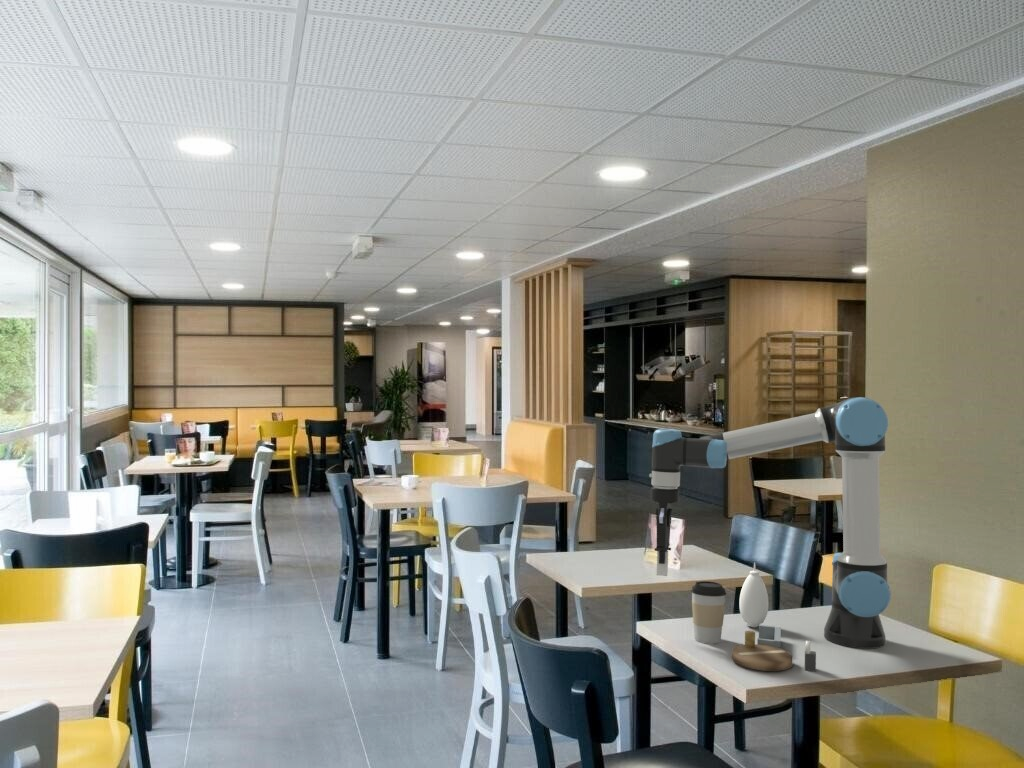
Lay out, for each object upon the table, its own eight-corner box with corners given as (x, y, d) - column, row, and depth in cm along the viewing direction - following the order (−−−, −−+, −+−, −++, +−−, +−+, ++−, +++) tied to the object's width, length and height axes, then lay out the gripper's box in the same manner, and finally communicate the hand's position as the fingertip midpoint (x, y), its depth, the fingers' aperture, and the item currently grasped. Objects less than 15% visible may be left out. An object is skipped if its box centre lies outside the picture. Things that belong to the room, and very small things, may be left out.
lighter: (815, 667, 200) (815, 640, 200) (815, 672, 197) (816, 644, 197) (804, 666, 200) (805, 639, 200) (804, 670, 197) (805, 642, 197)
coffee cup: (722, 635, 224) (723, 579, 225) (727, 645, 215) (729, 587, 216) (688, 633, 225) (689, 578, 225) (692, 643, 216) (693, 585, 216)
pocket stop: (780, 640, 222) (780, 626, 222) (780, 656, 208) (780, 642, 208) (758, 637, 223) (759, 624, 223) (757, 653, 210) (757, 639, 210)
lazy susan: (771, 650, 210) (771, 629, 210) (804, 668, 197) (804, 645, 197) (721, 653, 207) (721, 631, 207) (751, 672, 193) (751, 649, 193)
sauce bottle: (765, 631, 229) (767, 566, 229) (736, 627, 232) (738, 562, 232) (769, 624, 236) (771, 561, 236) (741, 621, 239) (743, 558, 239)
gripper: (654, 483, 232) (651, 568, 232) (647, 488, 219) (644, 578, 219) (682, 485, 229) (679, 571, 229) (676, 490, 217) (673, 581, 217)
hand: (661, 575), depth 224 cm, fingers closed
